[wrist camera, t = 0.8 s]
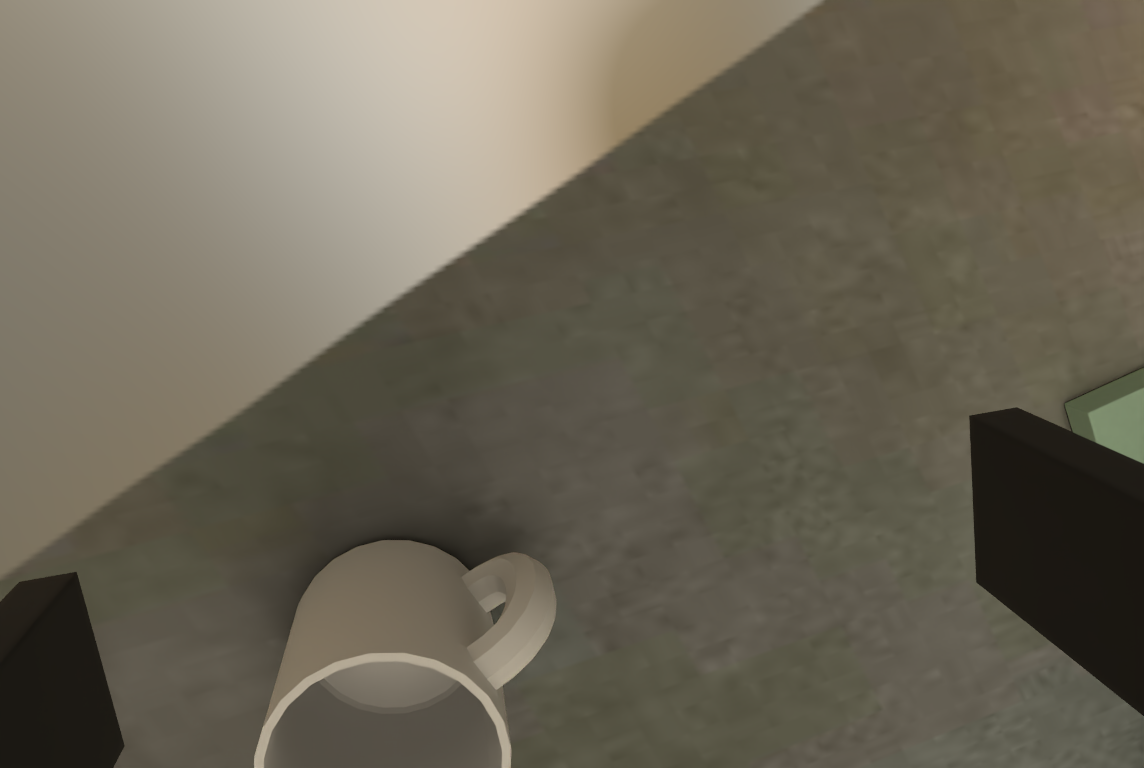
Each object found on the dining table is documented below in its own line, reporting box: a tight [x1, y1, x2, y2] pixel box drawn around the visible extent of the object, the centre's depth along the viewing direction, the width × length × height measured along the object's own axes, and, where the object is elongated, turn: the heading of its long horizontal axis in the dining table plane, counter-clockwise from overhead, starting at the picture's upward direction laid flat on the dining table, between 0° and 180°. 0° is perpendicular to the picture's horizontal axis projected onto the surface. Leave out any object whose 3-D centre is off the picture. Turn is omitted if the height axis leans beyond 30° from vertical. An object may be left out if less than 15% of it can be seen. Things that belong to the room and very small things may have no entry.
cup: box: [254, 540, 557, 768], centre depth 33 cm, size 7×10×9 cm
